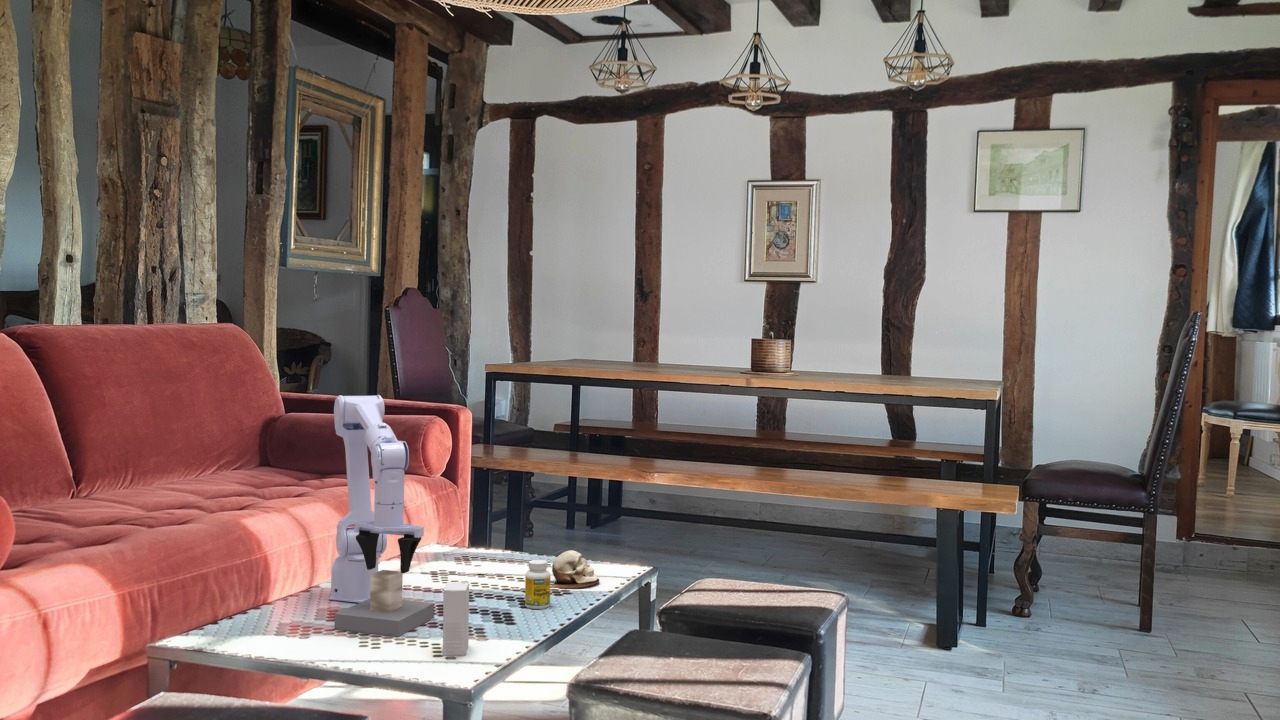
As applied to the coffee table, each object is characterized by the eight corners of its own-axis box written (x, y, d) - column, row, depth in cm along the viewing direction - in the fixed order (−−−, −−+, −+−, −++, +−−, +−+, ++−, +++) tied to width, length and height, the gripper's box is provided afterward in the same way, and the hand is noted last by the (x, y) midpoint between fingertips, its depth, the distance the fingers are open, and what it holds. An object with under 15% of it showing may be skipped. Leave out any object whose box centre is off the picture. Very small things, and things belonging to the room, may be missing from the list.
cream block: (370, 609, 202) (370, 574, 202) (382, 604, 206) (382, 569, 206) (390, 612, 201) (390, 576, 201) (402, 606, 205) (402, 571, 205)
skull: (604, 573, 246) (600, 547, 239) (596, 610, 239) (592, 585, 232) (556, 568, 248) (550, 543, 241) (546, 605, 241) (541, 580, 234)
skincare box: (445, 645, 190) (446, 581, 189) (468, 645, 190) (469, 581, 190) (441, 656, 184) (443, 589, 183) (465, 656, 184) (467, 589, 184)
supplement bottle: (542, 601, 223) (543, 557, 222) (554, 607, 218) (555, 562, 218) (520, 605, 220) (521, 560, 219) (531, 610, 215) (532, 565, 215)
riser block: (334, 629, 199) (334, 613, 199) (373, 611, 212) (373, 596, 212) (398, 636, 195) (398, 621, 195) (434, 617, 208) (434, 603, 208)
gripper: (346, 503, 202) (344, 571, 203) (411, 508, 198) (410, 578, 198) (365, 497, 209) (364, 564, 209) (429, 502, 205) (428, 570, 205)
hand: (388, 570), depth 204 cm, fingers open, 7 cm apart
